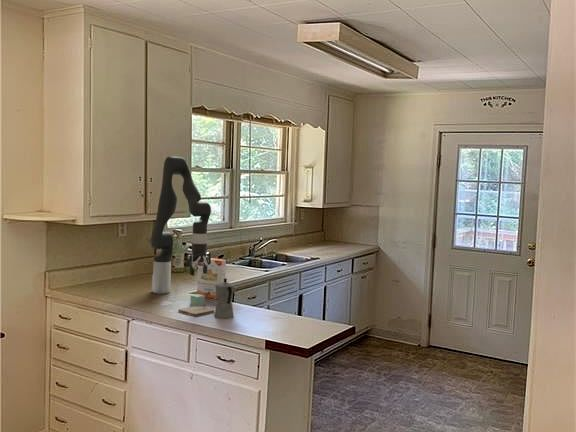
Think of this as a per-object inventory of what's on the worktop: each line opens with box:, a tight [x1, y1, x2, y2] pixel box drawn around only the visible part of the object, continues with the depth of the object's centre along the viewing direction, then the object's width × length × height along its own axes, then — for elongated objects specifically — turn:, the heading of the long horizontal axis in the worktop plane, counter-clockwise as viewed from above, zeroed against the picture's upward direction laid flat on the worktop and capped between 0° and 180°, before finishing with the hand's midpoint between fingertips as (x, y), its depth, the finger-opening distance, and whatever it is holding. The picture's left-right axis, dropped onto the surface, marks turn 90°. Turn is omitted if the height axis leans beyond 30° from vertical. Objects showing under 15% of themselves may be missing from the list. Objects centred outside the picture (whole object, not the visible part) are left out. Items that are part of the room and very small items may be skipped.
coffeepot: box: [214, 277, 236, 320], centre depth 267 cm, size 15×9×18 cm, turn 24°
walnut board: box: [178, 305, 215, 318], centre depth 274 cm, size 12×12×1 cm
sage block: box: [189, 293, 206, 307], centre depth 288 cm, size 5×5×5 cm
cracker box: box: [196, 257, 227, 300], centre depth 306 cm, size 14×6×21 cm, turn 73°
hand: (198, 274), depth 287 cm, fingers open, 8 cm apart
